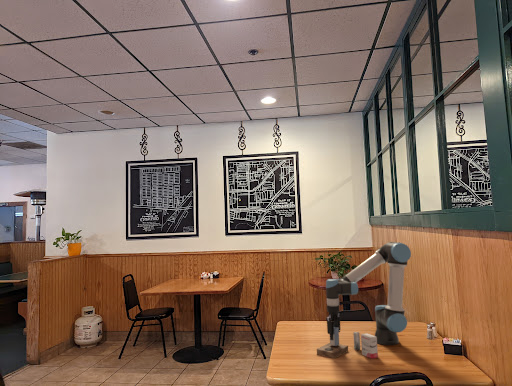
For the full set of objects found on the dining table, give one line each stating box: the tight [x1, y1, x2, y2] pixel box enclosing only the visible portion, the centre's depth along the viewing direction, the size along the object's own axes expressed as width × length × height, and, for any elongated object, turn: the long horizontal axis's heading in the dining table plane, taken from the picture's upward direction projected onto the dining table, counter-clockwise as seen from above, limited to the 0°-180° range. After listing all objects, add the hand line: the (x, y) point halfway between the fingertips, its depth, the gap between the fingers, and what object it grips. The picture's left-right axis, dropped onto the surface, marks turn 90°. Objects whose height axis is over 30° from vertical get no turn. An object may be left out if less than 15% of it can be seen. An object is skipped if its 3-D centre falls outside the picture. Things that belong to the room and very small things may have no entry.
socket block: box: [316, 342, 349, 359], centre depth 222 cm, size 12×16×3 cm
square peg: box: [334, 327, 340, 346], centre depth 225 cm, size 4×4×10 cm
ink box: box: [360, 333, 379, 359], centre depth 215 cm, size 8×5×12 cm, turn 26°
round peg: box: [353, 331, 361, 351], centre depth 227 cm, size 4×4×10 cm
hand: (334, 344), depth 225 cm, fingers closed on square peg, 4 cm apart
